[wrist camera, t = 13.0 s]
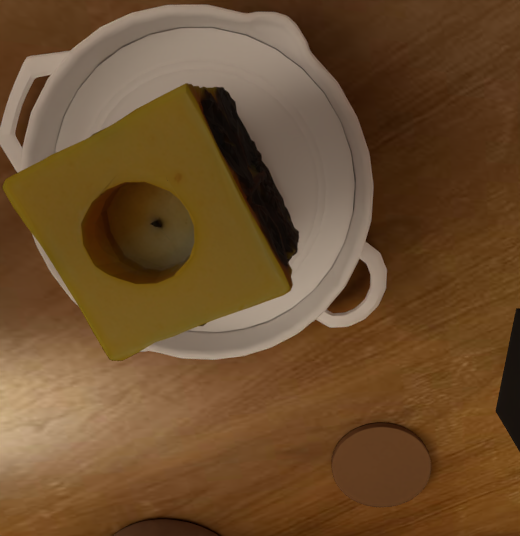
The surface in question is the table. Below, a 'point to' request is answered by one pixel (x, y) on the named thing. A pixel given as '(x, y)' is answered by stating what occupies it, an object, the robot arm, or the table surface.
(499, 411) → the robot arm
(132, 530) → the vase
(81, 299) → the candle
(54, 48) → the table surface
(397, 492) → the coaster
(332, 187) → the pan
